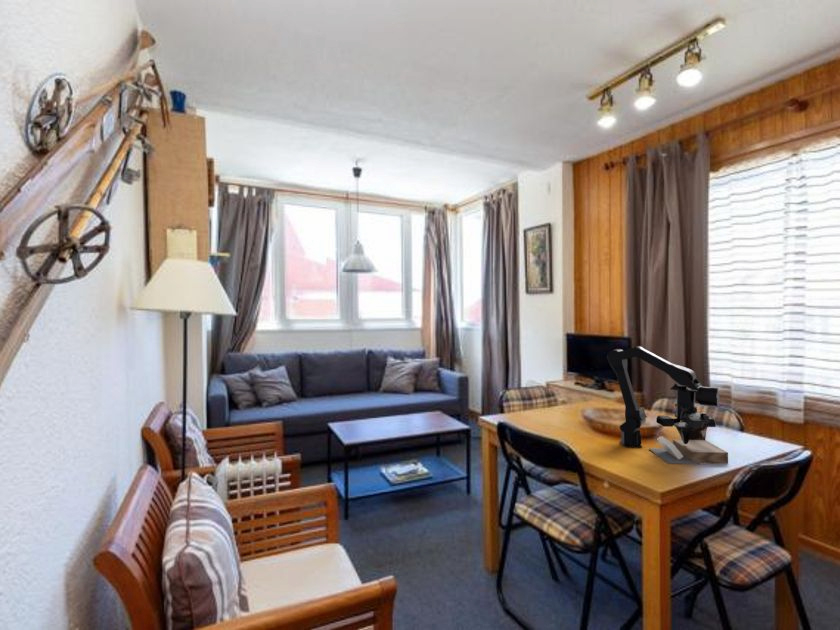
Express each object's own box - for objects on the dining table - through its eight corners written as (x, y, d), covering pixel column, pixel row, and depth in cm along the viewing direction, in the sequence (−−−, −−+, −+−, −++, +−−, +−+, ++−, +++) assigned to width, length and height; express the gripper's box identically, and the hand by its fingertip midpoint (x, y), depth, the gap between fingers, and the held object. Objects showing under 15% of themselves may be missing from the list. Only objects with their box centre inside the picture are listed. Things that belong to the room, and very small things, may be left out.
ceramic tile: (683, 456, 153) (678, 459, 154) (670, 448, 162) (666, 451, 163) (673, 443, 154) (668, 446, 154) (660, 435, 163) (656, 438, 163)
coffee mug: (690, 447, 168) (690, 422, 168) (678, 440, 176) (678, 416, 176) (720, 447, 167) (720, 422, 167) (706, 440, 176) (706, 416, 176)
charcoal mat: (667, 463, 151) (667, 462, 151) (649, 449, 166) (649, 448, 166) (700, 464, 150) (700, 463, 150) (678, 449, 165) (678, 448, 165)
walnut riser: (692, 463, 151) (692, 452, 151) (672, 449, 165) (672, 439, 165) (728, 463, 150) (728, 452, 150) (705, 450, 164) (705, 440, 164)
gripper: (670, 407, 150) (670, 450, 151) (725, 408, 149) (725, 451, 149) (655, 400, 162) (655, 440, 162) (706, 400, 160) (706, 441, 160)
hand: (685, 443), depth 158 cm, fingers closed
